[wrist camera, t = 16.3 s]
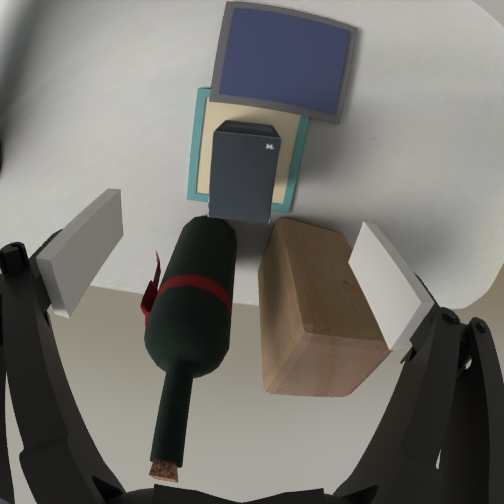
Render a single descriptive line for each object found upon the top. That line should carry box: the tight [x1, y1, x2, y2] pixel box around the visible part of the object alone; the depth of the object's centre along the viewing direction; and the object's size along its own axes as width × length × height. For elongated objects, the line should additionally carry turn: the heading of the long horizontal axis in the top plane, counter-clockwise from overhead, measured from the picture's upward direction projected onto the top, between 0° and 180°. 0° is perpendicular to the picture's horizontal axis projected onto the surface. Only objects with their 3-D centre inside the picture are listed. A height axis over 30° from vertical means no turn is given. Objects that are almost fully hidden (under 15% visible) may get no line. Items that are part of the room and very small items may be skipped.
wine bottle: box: [141, 215, 237, 483], centre depth 25 cm, size 8×10×30 cm
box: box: [208, 120, 282, 223], centre depth 26 cm, size 8×6×11 cm
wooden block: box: [258, 218, 393, 397], centre depth 30 cm, size 10×10×20 cm
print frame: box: [187, 88, 310, 213], centre depth 31 cm, size 13×14×1 cm
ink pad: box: [209, 1, 357, 124], centre depth 24 cm, size 15×13×1 cm
